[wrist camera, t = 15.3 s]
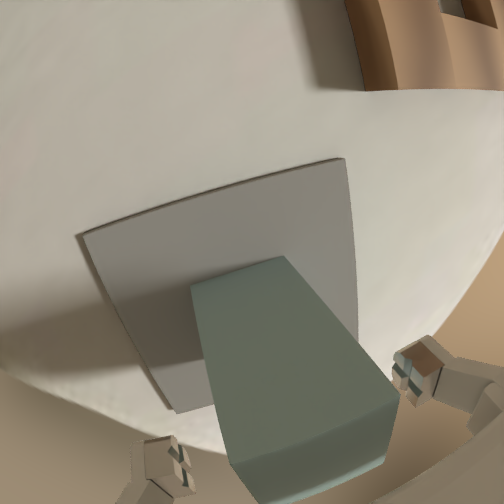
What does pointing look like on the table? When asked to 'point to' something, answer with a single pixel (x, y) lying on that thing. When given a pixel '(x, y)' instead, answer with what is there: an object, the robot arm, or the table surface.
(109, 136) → the table surface
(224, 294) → the square plug
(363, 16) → the plug dock
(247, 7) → the table surface
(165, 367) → the rubber mat
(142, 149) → the table surface
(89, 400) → the table surface
